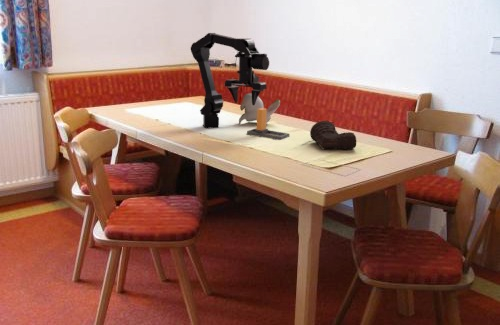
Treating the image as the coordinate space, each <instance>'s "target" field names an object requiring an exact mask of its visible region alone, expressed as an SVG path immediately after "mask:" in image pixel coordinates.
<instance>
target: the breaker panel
mask: <svg viewBox="0 0 500 325" xmlns="http://www.w3.org/2000/svg"><path fill="white" fill-rule="evenodd" d="M255 129H257V127H255V128H253V129H250V130H247V131H246V136H258V137H259V138H261V137H264V138H265V137H266V138H269V139H272V140H274V141H278V140H283V139H287V138H288V137H290V133H286V132H282V131H276V130H270V129H268V133H267V134H265V133H259V132H255Z"/></svg>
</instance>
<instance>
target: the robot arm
mask: <svg viewBox="0 0 500 325" xmlns="http://www.w3.org/2000/svg"><path fill="white" fill-rule="evenodd" d="M215 44H218V45H221V46H226V47H230V48H233V50H235V51H237V53H236V55H234V57H235V58H239V59H238V70H237V71H236V72H237V73H236V74H238V79H234V78H231V79H225V81H224V87H226V89H227V90H228V91H229V92H230V94H231V96H232V99H233V101H234V104H237V103H238V97H239V96H238V92H239V88H240V87H246V88H251V89H252V90H251V92H250V93H252V105H255V103H256V100H257V97H259V96H260V93H261V92H264V90H267V84H266V83H267V82H263V81H260V76H258V75H256V74H255V70H258V71H259V70H260V71H261V70H262V71H267V70H268V69H269V67H270V60H269V57H268V54H267V53H260V51H259V50H258V48H257V47H256V44H255V41H254V39H252V38H236V37H231V36H226V35H223V34H219V33H215V32H208V33H206V34H205V36H203V37H201V38H199V39H198V40H197V41H196V42H193V43H192V44H191V46H190V52H191V54H192V58H193V59H194V61H196V63H197V64H198V69H199V72H200V76H201V81H202V84H203V89H204V93H205V94H204V95H205V96H204V100H203V104H204V105H203V106H202V107H201V108H200V109H199V110H200V111H199V112H200V114H201V115H202V117H203V118H202V120H203V121H202V122H203V124H202V126H203V127H204V129H214V128H215V129H216V128H217V129H218V128H219V126H220V117H219V114H220V113H221V110H222V109H223V107H224V98H223V95H222V93H218V92H217V89H216V85H215V82H214V78H213V74H212V70H211V69H212V68H211V66H210V59H209V58H210V55H211V53H210V50H211V49H212V48H213V47H214V45H215ZM253 69H254V70H253ZM219 129H220V128H219Z"/></svg>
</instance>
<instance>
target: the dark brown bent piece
mask: <svg viewBox="0 0 500 325" xmlns="http://www.w3.org/2000/svg"><path fill="white" fill-rule="evenodd" d="M309 132H310V133H309V134H310V138H311V140H312V141H314V142H316V143H317V144H318V145H319V146H320V147H321V148H322V149H324V150H333V149H342V150H347V149H348V150H352V149H353V150H354V149H355V148H356V147H357V137H356V135H355V133H354V132H349V131H347V132H341V133H339V132H338V131H337V129H336V126H335V125H334V123H333V122H332V121H328V120H322V121H318V122H316V123H315V124H313V125H312V127H311V128H310V131H309Z"/></svg>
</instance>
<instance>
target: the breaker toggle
mask: <svg viewBox="0 0 500 325" xmlns="http://www.w3.org/2000/svg"><path fill="white" fill-rule="evenodd" d="M267 110H268V108H265V107H264V108H260V109H257V121H256V128H257V129H255V128H254V129H255V132H259V133H265V134H269V133H268V130H269V128H267V123H266V115H267Z"/></svg>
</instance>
